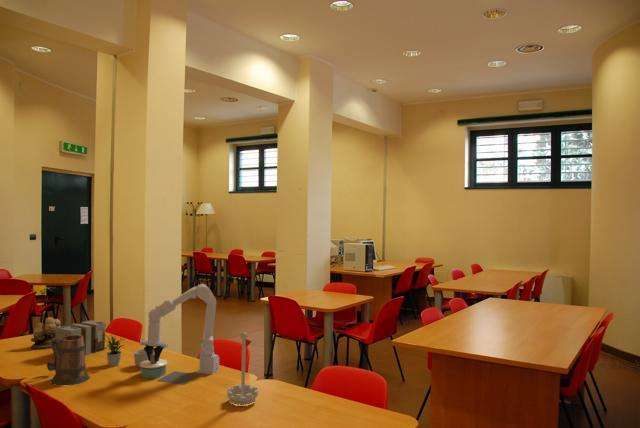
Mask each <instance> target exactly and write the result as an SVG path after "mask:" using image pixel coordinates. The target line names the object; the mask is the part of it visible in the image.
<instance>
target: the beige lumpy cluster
mask: <svg viewBox="0 0 640 428" xmlns="http://www.w3.org/2000/svg"><path fill="white" fill-rule="evenodd" d="M45 323H46V324H44V323H43V322H38V323H36V325H35V328H34V330H33V333H32V336H33V337H31V338H30V342H33V344H32V345H31V346H30V349H31V350H35V351H38V350H49V349H52V341H53V340H55V336H56V328H58V327H62V326H61V325H62V324H61V321H60V319H59V318H58V319H57V318H53V317H52V316H51V317H50V316H48V317H47V318H45Z"/></svg>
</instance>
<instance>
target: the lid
mask: <svg viewBox="0 0 640 428" xmlns="http://www.w3.org/2000/svg"><path fill="white" fill-rule="evenodd" d="M165 365H166V366H167V365H168V361H167V359H161V358H159V361H158V362H155V354H151V355H150V361H149V360H146V361H143V362H141V363H140V364H139V366H140V367H142V368H159V367H163V366H165ZM140 367H139V368H140Z"/></svg>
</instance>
